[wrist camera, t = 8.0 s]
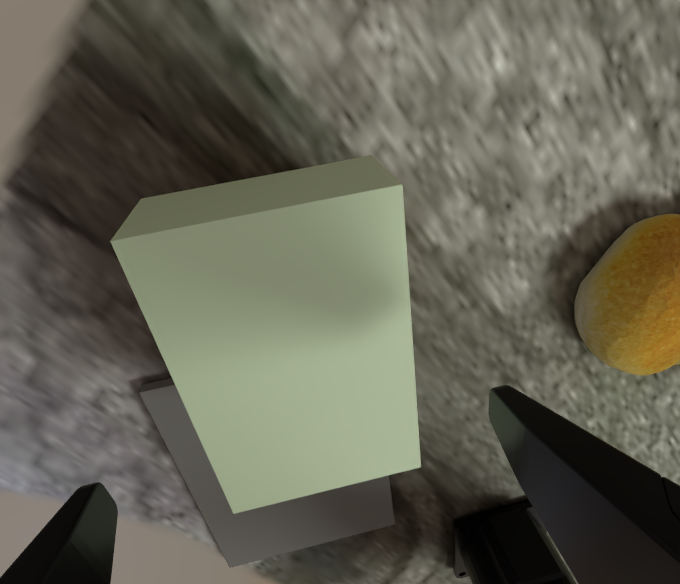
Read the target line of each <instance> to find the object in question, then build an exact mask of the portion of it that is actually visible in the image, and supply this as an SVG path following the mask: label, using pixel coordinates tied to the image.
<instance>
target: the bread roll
mask: <svg viewBox="0 0 680 584" xmlns="http://www.w3.org/2000/svg"><path fill="white" fill-rule="evenodd" d="M574 310H575V323H576V326H577V329H578V332H579V334H580V337H581V339H582V340H583V342H584V343H585V344H586V346H587V348H588V349H589V350H590V351H591V352H592V353H593V354H594V355H595V356H596V357H597V358H598V359H600V360H601V361H602V362H604V363H605V364H607V365H608V366H610V367H614V368H617V369H619V370H622V371H624V372H627V373H631V374H636V375H651V374H654V373H657V372H661V371H664V370H666V369H668V368H670V367H671V366H673V365H675V364H676V365H680V214H664V215H657V216H654V217H650V218H647V219H644V220H641V221H639V222H637V223H635V224H633V225H631V226H630V227H629V228H627V229H626V230H625V231H624V233H623V234H622V235H621V236H619V237H618V238H617V239H616V240H615V241H614V242H613V244H612V245H611V246H610V247H609V248H608V249H607V250H606V252H605V253H604V254H603V255H602V257H601V258H600V259H599V260H598V262H597V263H596V264H595V265H594V267H593V268H592V269H591V271H590V272H589V273H588V274H587V276H586V277H585V278H584V280H583V281H582V282H581V284H580V286H579V289H578V292H577V295H576V299H575V304H574Z"/></svg>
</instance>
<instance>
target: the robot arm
mask: <svg viewBox="0 0 680 584" xmlns="http://www.w3.org/2000/svg"><path fill="white" fill-rule="evenodd" d="M489 418H490V422H491V424H492V426H493V428H494V430H495V433H496V435H497V437H498V439H499V441H500V443H501V446H502V448H503V450H504V452H505V454H506V457H507V459H508V461H509V463H510V465H511V467H512V470H513V472H514V474H515V476H516V478H517V480H518V482H519V484H520V486H521V487H522V489H523V491H524V493H525V494H526V496H527V498H528V499H529V501H528V502H524V503H520V504H516V505H512V506H508V507H505V508H501V509H497V510H493V511H489V512H486V513H482V514H478V515H474V516H470V517H466V518H463V519H459V520H457V521H456V522H454V524H453V571H454V573H455V576H456V577H457V578H463V577H467V576H470V578H471V581H472V583H473V584H576V582H575V581H574V579H573V577H572V576H571V574H570V572H569V571H568V569H567V567H566V566H565V564H564V562H563V561H562V559H561V557H560V556H559V554H558V552H557V551H556V549H555V547H554V546H553V544H552V542H551V541H550V539H549V537H548V536H547V534H546V533H547V531H548V533H549V535H550V536H551V538H552V540H553V541H554V543H555V545H556V546H557V548H558V550H559V551H560V553H561V555H562V556H563V558H564V560H565V561H566V563H567V565H568V567H569V568H570V570H571V572H572V573H573V575H574V577H575V578H576V580H577V582H578V583H579V584H680V486H679V485H677V484H676V483H674V482H672V481H671V480H669V479H667V478H666V477H662V478H661V475H660V474H658V473H657V472H655V471H653V470H652V469H650V468H648V467H647V466H645V465H643V464H642V463H640V462H638V461H636V460H635V459H633V458H631V457H630V456H628V455H626V454H625V453H623V452H621V451H619V450H618V449H616V448H614V447H613V446H611V445H609V444H608V443H606V442H604V441H603V440H601V439H599V438H597V437H596V436H594V435H592V434H591V433H589V432H587V431H586V430H584V429H582V428H580V427H579V426H577V425H575V424H574V423H572V422H570V421H569V420H567V419H565V418H563V417H562V416H560V415H558V414H557V413H555V412H553V411H552V410H550V409H548V408H547V407H545V406H543V405H541V404H540V403H538V402H536V401H535V400H533V399H531V398H530V397H528V396H526V395H524V394H523V393H521V392H519V391H518V390H516V389H514V388H513V387H511V386H508V385H503V386H499V387H495V388H492V389H491V390H490V394H489ZM117 515H118V511H117V506H116V503H115V501H114V500H113V499H112V497H111V496H110V494H109V493H108V491H107V490H106V488H105V487H104V485H103V484H101V483H93V484H88V485H84V486H81V487H80V488H78V489H77V490H76V491H75V492H74V494H73V495H72V496H71V497H70V498H69V499H68V500H67V502H66V503H65V504H64V505H63V506H62V507H61V508H60V510H59V511H58V512H57V513H56V514H55V515H54V517H53V518H52V519H51V520H50V521H49V522H48V523H47V525H46V526H45V527H44V528H43V529H42V530H41V531H40V533H39V534H38V535H37V536H36V537H35V538H34V540H33V541H32V542H31V543H30V544H29V545H28V546H27V548H26V549H25V550H24V551H23V552H22V553H21V554H20V556H19V557H18V558H17V559H16V560H15V561H14V562H13V564H12V565H11V566H10V567H9V568H8V569H7V570H6V572H5V573H4V574H3V575H2V576H1V577H0V584H110V581H111V573H112V564H113V554H114V544H115V534H116V525H117Z"/></svg>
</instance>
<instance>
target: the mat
mask: <svg viewBox="0 0 680 584" xmlns="http://www.w3.org/2000/svg"><path fill="white" fill-rule="evenodd" d="M139 394H140V396H141V398H142V400H143V401H144V403H145V405H146V407H147V409H148V411H149V413H150V415H151V417H152V419H153V421H154V423H155V425H156V427H157V428H158V430H159V432H160V434H161V436H162V438H163V440H164V442H165V444H166V446H167V448H168V450H169V452H170V454H171V455H172V457H173V459H174V461H175V463H176V465H177V467H178V469H179V471H180V473H181V475H182V477H183V479H184V481H185V482H186V484H187V486H188V488H189V490H190V492H191V494H192V496H193V498H194V500H195V502H196V504H197V506H198V508H199V509H200V511H201V513H202V515H203V517H204V519H205V521H206V523H207V525H208V527H209V529H210V531H211V533H212V535H213V536H214V538H215V540H216V542H217V544H218V546H219V548H220V550H221V552H222V554H223V556H224V558H225V560H226V562H227V563H228V565H229V567H234V566H238V565H242V564H245V563H249V562H253V561H257V560H261V559H265V558H269V557H272V556H276V555H280V554H284V553H288V552H292V551H295V550H299V549H303V548H307V547H311V546H315V545H319V544H322V543H326V542H330V541H334V540H338V539H342V538H346V537H349V536H353V535H357V534H361V533H365V532H369V531H372V530H376V529H380V528H384V527H388V526H392V525H395V519H394V512H393V504H392V496H391V488H390V481H389V475H388V476H384V477H380V478H376V479H372V480H368V481H364V482H360V483H356V484H352V485H348V486H344V487H340V488H336V489H332V490H328V491H324V492H319V493H315V494H311V495H307V496H303V497H299V498H295V499H291V500H287V501H283V502H279V503H275V504H271V505H267V506H263V507H259V508H255V509H251V510H247V511H243V512H239V513H235V514H233V512H232V509H231V507H230V505H229V503H228V501H227V498H226V496H225V494H224V492H223V489H222V487H221V485H220V483H219V481H218V478H217V476H216V474H215V472H214V470H213V467H212V465H211V463H210V461H209V459H208V456H207V454H206V452H205V450H204V448H203V445H202V443H201V441H200V439H199V436H198V434H197V432H196V430H195V428H194V425H193V423H192V421H191V419H190V417H189V414H188V412H187V410H186V408H185V406H184V403H183V401H182V399H181V397H180V394H179V392H178V390H177V388H176V386H175V383H174V381H173V379H172V378H169V379H165V380H160V381H156V382H151V383H147V384H142V385H141V388H140V391H139Z"/></svg>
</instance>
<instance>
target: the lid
mask: <svg viewBox="0 0 680 584" xmlns="http://www.w3.org/2000/svg"><path fill="white" fill-rule="evenodd" d="M110 242H111V244H112V246H113V249H114V251H115V253H116V255H117V257H118V260H119V262H120V264H121V266H122V269H123V271H124V273H125V275H126V277H127V280H128V282H129V284H130V286H131V288H132V291H133V293H134V295H135V297H136V299H137V302H138V304H139V306H140V308H141V311H142V313H143V315H144V317H145V319H146V322H147V324H148V326H149V328H150V330H151V333H152V335H153V337H154V339H155V341H156V344H157V346H158V348H159V350H160V353H161V355H162V357H163V359H164V361H165V364H166V366H167V368H168V370H169V372H170V375H171V377H172V379H173V381H174V383H175V386H176V388H177V390H178V392H179V394H180V397H181V399H182V401H183V403H184V406H185V408H186V410H187V412H188V414H189V417H190V419H191V421H192V423H193V425H194V428H195V430H196V432H197V434H198V436H199V439H200V441H201V443H202V445H203V448H204V450H205V452H206V454H207V456H208V459H209V461H210V463H211V465H212V467H213V470H214V472H215V474H216V476H217V478H218V481H219V483H220V485H221V487H222V489H223V492H224V494H225V496H226V498H227V501H228V503H229V505H230V507H231V509H232V512H233V514H235V513H239V512H243V511H247V510H251V509H255V508H259V507H263V506H267V505H271V504H275V503H279V502H283V501H287V500H291V499H295V498H299V497H303V496H307V495H311V494H315V493H319V492H324V491H328V490H332V489H336V488H340V487H344V486H348V485H352V484H356V483H360V482H364V481H368V480H372V479H376V478H380V477H384V476H388V475H392V474H396V473H400V472H404V471H408V470H412V469H416V468H420V467H421V459H420V444H419V429H418V414H417V399H416V383H415V368H414V353H413V338H412V323H411V308H410V293H409V277H408V262H407V247H406V232H405V217H404V202H403V186H402V184H401V183H400V182H399V181H398V180H397V179H396V178H395V177H394V176H393V175H392V174H391V173H390V172H388V171H387V170H386V169H385V168H384V167H383V166H382V165H381V164H380V163H379V162H378V161H377V160H375V159H374V158H373V157H372V156H366V157H360V158H355V159H350V160H344V161H339V162H334V163H328V164H323V165H318V166H312V167H307V168H302V169H296V170H291V171H286V172H281V173H275V174H270V175H265V176H259V177H254V178H249V179H243V180H238V181H233V182H227V183H222V184H217V185H211V186H206V187H201V188H195V189H190V190H185V191H179V192H174V193H169V194H163V195H158V196H153V197H147V198H142V199H140V201H139V202H138V204H137V205H136V206H135V208H134V209H133V210H132V212H131V213H130V215H129V216H128V217H127V219H126V220H125V221H124V223H123V224H122V226H121V227H120V228H119V230H118V231H117V232H116V234H115V235H114V237H113V238H112V239H111V241H110Z"/></svg>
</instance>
